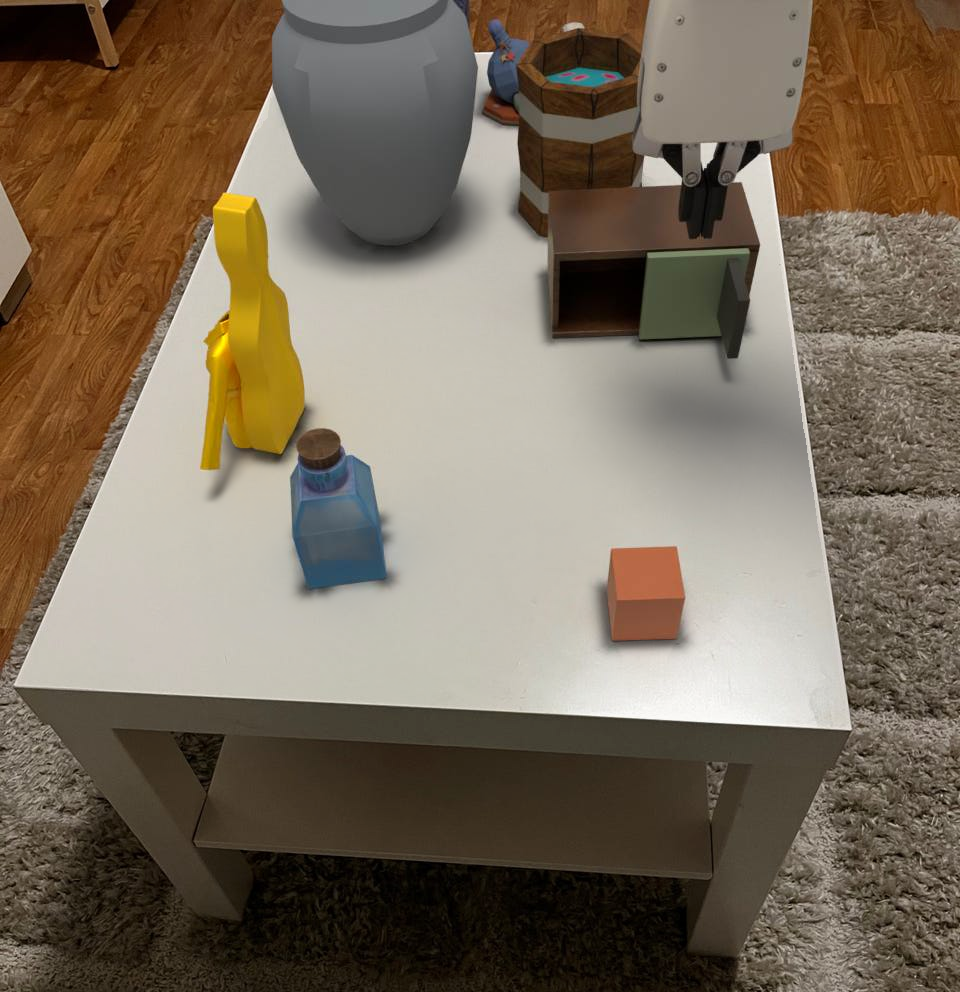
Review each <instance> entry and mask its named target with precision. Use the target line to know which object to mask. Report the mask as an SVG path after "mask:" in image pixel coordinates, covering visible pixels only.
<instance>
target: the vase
mask: <svg viewBox="0 0 960 992" xmlns="http://www.w3.org/2000/svg"><path fill="white" fill-rule="evenodd" d="M281 5H282V8H283V11H284V12H283V13H282V16H281V17H280V19H279V21H278V23H277V24H276V27H275V28H274V31H273V33H272V35H271V59H272V60H271V62H272V63H271V69H272V70H271V72H272V73H271V76H272V77H271V79H272V80H271V82H272V85H271V87H272V90H273V93H274V96H275V99H276V102H277V105H278V107H279V110H280V113H281V115H282V119H283V122H284V124H285V126H286V129H287V132H288V136H289V137H290V141H291V143H292V145H293V150H294V151H295V153H296V156H297V158H298V160H299V162H300V163H301V166H302V167H303V169H304V170H305V172H306V174H307V176H308V177H309V179H310V181H311V182H312V184H313V186H314V187H315V189H316V192H317V193H318V194H319V196H320V198H321V200H322V201H323V203H325V205H326V206H327V208H329V209H330V210H331V212H332V213H333V214H334V215H335V216H336V217H337V218H338V219H339V220H340V221H341V223H342V224H343V225H344V226H345V227H346V228H347V229H348V230H349V231H351V232H352V233H354V234H355V235H356V236H358V237H359V238H360V239H361V240H363V241H365V242H367V243H371V244H373V245H377V246H378V245H379V246H400V245H406V244H408V243H409V244H410V243H412V242H415V241H417V240H419V239H421V238H422V237H424V236H425V235H427V233H428V232H430V230H431V229H432V228H433V227H434V225H436V223H437V222H438V221H439V220H440V219H441V217H442V215H443V213H444V211H445V209H446V207H447V205H448V204H449V202H450V200H451V198H452V196H453V194H454V192H455V190H456V189H457V186H458V183H459V180H460V176H461V172H462V169H463V166H464V162H465V159H466V155H467V152H468V149H469V145H470V141H471V137H472V132H473V131H472V130H473V121H474V113H475V112H474V111H475V101H476V94H477V93H476V91H477V83H478V73H479V65H478V61H477V57H476V53H475V49H474V45H473V41H472V37H471V32H470V27H469V28H468V23H467V19H466V16H465V15H464V14H463V12H462V11H461V9H460V8H459V7H458V6H457V5H456V4H455V3H454V1H453V0H281Z"/></svg>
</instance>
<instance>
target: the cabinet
mask: <svg viewBox="0 0 960 992" xmlns="http://www.w3.org/2000/svg"><path fill="white" fill-rule="evenodd" d="M680 191H681V184H670V185H669V184H668V185H649V186H642V187H625V188H604V189H582V190H561V191H549V192H548V237H547V259H546V260H547V261H546V262H547V263H546V264H547V268H546V269H547V271H546V278H547V288H548V290H547V291H548V301H549V303H548V304H549V315H550V325H551V337H552V339H561V338H562V339H566V338H567V339H568V338H585V337H586V338H588V337H612V336H635V335H637V336H639V325H640V316H641V306H642V297H643V288H644V279H645V269H646V260H647V253H651V252H674V251H696V250H719V249H741V248H748V249H749V252H750V255H749V260H748V265H747V270H746V275H745V283H746V287H747V290H748V294H749V297H750V295H751V291H752V286H753V281H754V276H755V271H756V267H757V262H758V257H759V253H760V248H761V242H760V238H759V235H758V232H757V229H756V225H755V222H754V219H753V216H752V212H751V208H750V205H749V202H748V199H747V195H746V191H745V189H744V186H743V182H742V181H738V182H737V181H736V182H735V181H733V183H731V184H730V185H728V189H727V194H726V200H725V206H724V212H723V218H722V220H721V221H715V222H714V228H713V234H712V238H711V239H704V237H701V233H700V237H697V239H689V236H688V231H687V226H686V222H679V217H678V207H679V199H680Z"/></svg>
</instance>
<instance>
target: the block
mask: <svg viewBox="0 0 960 992" xmlns="http://www.w3.org/2000/svg"><path fill="white" fill-rule="evenodd" d="M681 569H682V568H681V562H680V557H679V550H678V546H676V545H672V546H646V547H644V546H642V547H641V546H640V547H617V548H616V547H615V548H613V547H612V548H611V549H610V554H609V565H608V573H607V582H606V597H607V606H608V615H609V616H608V617H609V627H610V632H611V633H610V635H611V641H613V642H614V641H615V642H617V641H618V642H619V641H650V640H676V639H677V638H678V635H679V631H680V630H679V629H680V625H681V621H682V615H683V611H684V606H685V602H686V593H685V588H684V581H683V576H682V570H681Z"/></svg>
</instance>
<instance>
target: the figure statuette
mask: <svg viewBox="0 0 960 992" xmlns="http://www.w3.org/2000/svg"><path fill="white" fill-rule="evenodd" d="M212 219H213V235H214V246H215V250H216V254H217V257H218V259H219V262H220V264H221V266H222V268H223V269H224V271H225V273H226V275H227V277H228V279H229V285H230V294H229V296H230V297H229V309H228V310H227V311H226V312H225V313H224V314H223V315H222V316H221V317H220V318H219V319H218V320H217V323H216V324H215V325H214V328H212V329H211V330H209V331H208V333H207V337H205V338H204V340H203V341H202V342H203V343H205V344H206V346H207V350H206V356H205V357H206V358H205V368H206V370H207V372H208V373H209V382H208V398H207V399H208V400H207V409H206V417H205V428H204V437H203V445H202V453H201V460H200V466H199V468H200V470H204V471H215V470H216V471H217V470H218V471H219V470H220V465H221V464H220V463H221V453H222V452H221V451H222V441H223V433H224V424H226V428H227V431H228V435H229V437H230V439H231V441H232V443H233V445H234V447H236V448H239V449H251V448H252V449H254V450H257V451H260V452H261V451H262V452H266V453H267V452H268V453H272V454H277V455H282V454H283V453H284V451H285V448H286V446H287V444H288V443H289V440H290V439H291V437H292V435H293V433H294V431H295V429H296V428H297V425H298V423H299V421H300V418H301V417H302V414H303V412H304V409H305V405H306V394H305V381H304V374H303V370H302V366H301V362H300V359H299V356H298V355H297V352H296V350H295V348H294V346H293V343H292V342H293V341H292V337H291V328H290V313H289V305H288V299H287V296H286V294H285V292H284V291H283V289H281V287H279V285H277V284H276V283H275V281H274V280H273V279H272V277H271V275H270V270H269V240H268V229H267V223H266V220H265V216H264V214H263V211H262V209H261V206H260V203H259V200H258V199H257V198H256V197H255V196H249V195H242V194H236V193H231V192H222V194H221V196H220V197H219V199H218V201H217V202H216V203H215V204H214V206H213V207H212Z"/></svg>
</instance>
